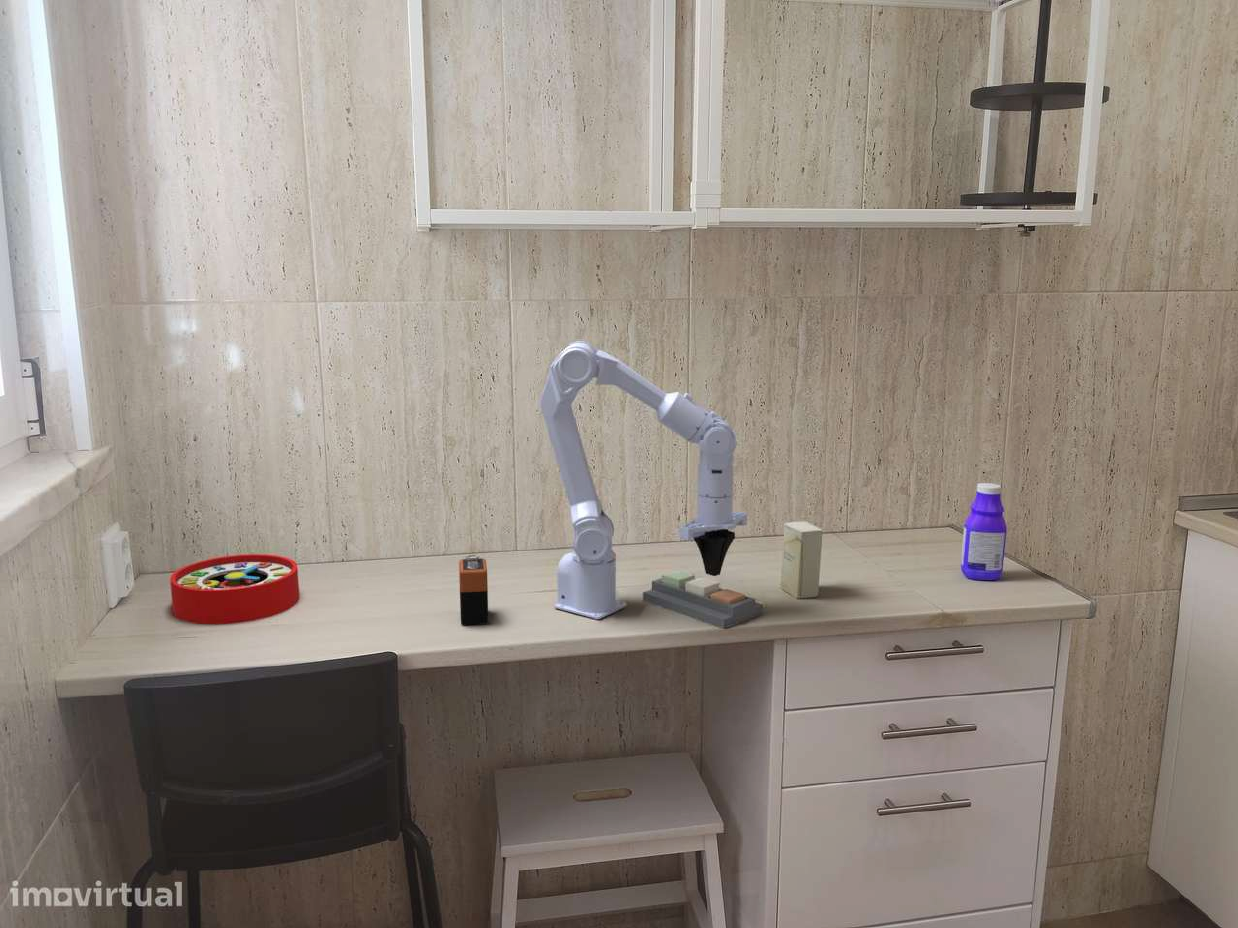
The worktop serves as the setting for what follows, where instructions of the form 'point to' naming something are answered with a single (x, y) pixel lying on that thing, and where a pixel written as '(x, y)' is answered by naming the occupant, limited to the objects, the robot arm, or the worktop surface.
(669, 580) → the green button
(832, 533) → the worktop surface
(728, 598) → the terracotta button
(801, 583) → the skincare box
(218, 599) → the toy clock
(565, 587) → the robot arm
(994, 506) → the bottle
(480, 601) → the battery
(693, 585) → the cream button
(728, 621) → the button panel
